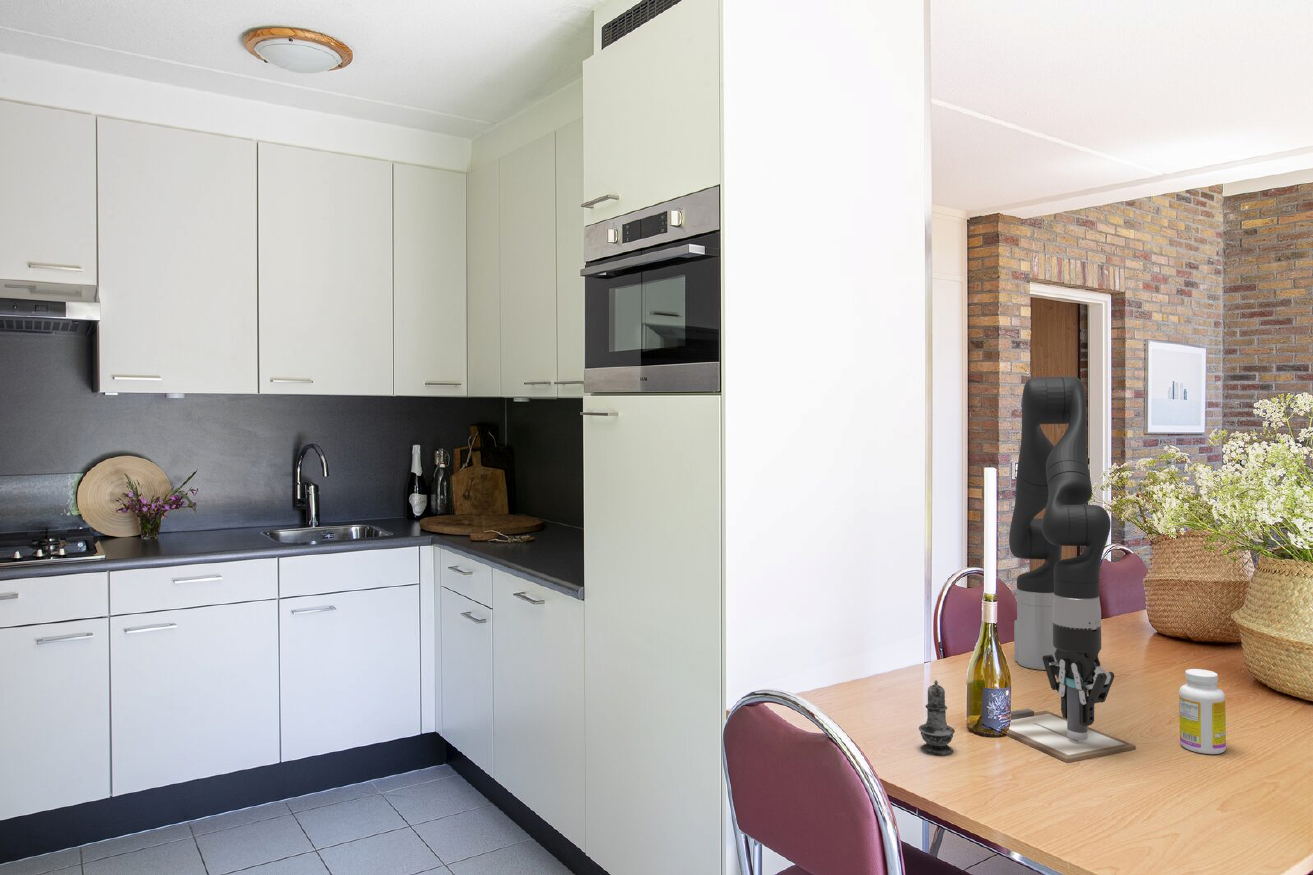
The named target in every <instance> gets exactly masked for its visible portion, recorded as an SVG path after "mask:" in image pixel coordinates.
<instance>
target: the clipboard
mask: <svg viewBox="0 0 1313 875" xmlns="http://www.w3.org/2000/svg"><path fill="white" fill-rule="evenodd" d="M1006 734H1007V736H1006V737H1009V738H1011V739H1013V740H1015V741H1018V742H1020V743H1022V744H1023V745H1027V746H1029V747H1031V748H1033V749H1036V750H1038V751H1039V752H1042V753H1043V754H1047V755H1049V756H1051V757H1053V758H1055V759H1057V760H1060V761H1062V760H1063V761H1062V762H1065V763H1066V764H1067V763H1072V762H1073V761H1074V762H1077V761H1076V760H1079V761H1082V760H1083V761H1084V760H1088V758H1089V759H1093V758H1099V757H1103V756H1102V755H1104V756H1108V755H1113V754H1118V753H1119V754H1120V753H1125V752H1129V751H1133V750H1134V751H1135V750H1136V748H1137V746H1136V745H1135V744H1132V743H1130V742H1127V741H1125V740H1122V739H1120V738H1117V737H1115V736H1112V735H1109V734H1107V733H1105V732H1102V731H1099V730H1096V729H1095V728H1093V727H1092V728H1091V727H1089V726H1088V739H1085V740H1077V739H1072V738H1070V737H1068V736H1067V719H1065V718H1063V716H1061V715H1058V714H1055V713H1053V712H1051V711H1049V710H1040V711H1039V710H1038V711H1034V710H1032V709H1030V708H1024V709H1023V708H1022V709H1017V710H1011V722H1010V727H1009V730H1008V731H1007V733H1006ZM1074 762H1073V763H1074Z"/></svg>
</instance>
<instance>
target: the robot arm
mask: <svg viewBox="0 0 1313 875" xmlns="http://www.w3.org/2000/svg"><path fill="white" fill-rule="evenodd" d="M1087 415H1088V414H1087V398H1086V390H1085V386H1084V382H1082V380H1081V379H1080V378H1079V377H1076V376H1038V377H1032V378H1029V379H1027V380H1026V381H1025V384H1024V386H1023V390H1022V398H1021V433H1020V434H1021V437H1020V446H1019V454H1018V455H1019V456H1018V460H1017V461H1018V462H1017V466H1016V468H1017V469H1016V476H1015V477H1016V478H1015V479H1016V480H1015V499H1014V506H1013V511H1012V516H1011V517H1012V518H1011V522H1010V527H1009V532H1008V533H1009V534H1008V543H1009V549H1010V552H1011V554H1012V555H1013V556H1014V557H1016V558H1018V559H1023V560H1044V562H1043V563H1042V564H1041V565H1040V566H1038V567H1037V568H1035V569H1033V570H1030V571H1026V572H1024V573H1021V574H1019V575H1018V576H1017V577H1016V578H1017V579H1016V603H1017V604H1016V606H1017V608H1016V611H1017V612H1016V613H1017V614H1016V616H1017V619H1015V620H1014V621H1013V625H1014V626H1013V628H1014V629H1013V631H1014V632H1013V633H1014V634H1013V635H1014V636H1013V639H1014V640H1013V643H1014V644H1013V646H1014V662H1017V664H1018V665H1019V666H1022V667H1024V668H1027V669H1033V670H1039V671H1040V670H1043V671H1045V672H1046V676H1047V677H1048V678H1047V679H1048V681H1049V684H1050V688H1051V690H1053V691H1057V692H1058V695H1059V696H1060V707H1061V708H1060V711H1061V714H1062V717H1063V718H1065V719H1067V685H1066V678H1067V677H1068V678H1071V679H1074V680H1075V686H1076V689H1077V690H1078V691H1079V697H1080V702H1081V703H1080V704H1079V712H1080V725H1083V726H1088V727H1089V726H1092V725H1093V723H1094V721H1095V705H1096V704H1099V703H1105V702H1106V701H1107V700H1106V699H1107V696H1108V695H1109V692H1110V691H1111V690H1110V689H1111V688H1112V687H1111V686H1112V684H1113V682H1114V679H1115V674H1114V673H1113V672H1112V671H1106V670H1105V669H1104V668H1102V667H1101V666H1102V665H1101V662H1100V659H1099V653H1100V651H1101V650H1102V608H1101V607H1102V606H1101V600H1100V569H1101V563H1102V558H1103V554H1104V550H1105V547H1106V544H1107V541H1108V539H1109V535H1110V531H1111V518H1110V515H1109V513H1108V512H1107V510H1106V509H1105V508H1103V507H1102V506H1100V505H1096V504H1086V503H1088V502H1089V501H1090V500H1091V498H1092V495H1093V487H1092V481H1091V476H1090V469H1089V463H1088V455H1087V454H1088V453H1087V452H1088V451H1087V450H1088V449H1087V444H1088V442H1087V440H1088V423H1087V420H1088V419H1087V418H1088V417H1087ZM1041 425H1067V429H1066V430H1065V432H1064V433H1063V435H1062V436H1061V438H1060V439H1059V440H1058V442H1056V444H1055V445H1054V444H1053V442H1051V440H1050V439H1049V438H1048V437H1047V436H1046V435H1045V433H1044V431H1043V429H1042V427H1041ZM1043 510H1044V512H1043V516H1042V518H1039V517H1037V518H1035V517H1036V516H1037V515H1039V513H1041V512H1042V511H1043ZM1062 547H1085V549H1084V550H1083V552H1082V553H1081V554H1080V555H1079V556H1076V557H1070V558H1064V559H1062V549H1063V548H1062ZM1084 682H1088V684H1086V685H1084V684H1083V683H1084ZM1086 691H1087V692H1088V696H1087V693H1086Z"/></svg>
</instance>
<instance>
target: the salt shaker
mask: <svg viewBox="0 0 1313 875" xmlns="http://www.w3.org/2000/svg"><path fill="white" fill-rule="evenodd" d="M933 683H934V684H932V685H930V686H928V688H927V704H925V708H926V709H927V711H926V712H927V719H926V722H925V723H924V724H921V725H919V727H918V731H920V735H921V738H922V740H923V741H924V744H923V745H922V746H920V750H921V751H922V752H923V753H925V754H927V755H931V756H937V757H945V756H951V755H952V754H953V753H954V749H953V748H952V747H951V746H949V744H950V743H951V741H952V739H953V737H954V734H955V731H956V730H955V728H953V727H952V726H950V725H948V723H947V719H946V717H947V716H946V712H947V710H948V706H947V705H946V691H945V688H944V687H943V686H941V685H939V681H938V680H937V679H935V680H934V681H933Z"/></svg>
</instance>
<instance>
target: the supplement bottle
mask: <svg viewBox="0 0 1313 875" xmlns="http://www.w3.org/2000/svg"><path fill="white" fill-rule="evenodd" d="M1184 675H1185V676H1184V678H1185V680H1186V683H1185V684H1183V685H1181V686H1180V688H1179V690H1178V701H1179V702H1178V705H1179V706H1178V707H1179V714H1178V716H1179V741H1180V744H1181V746H1182V747H1183V748H1185V750H1188V751H1191V752H1194V753H1199V754H1204V755H1205V754H1206V755H1207V754H1208V755H1219V754H1222V753H1224V752H1225V751H1226V748H1227V728H1226V722H1227V721H1226V695H1225V692H1224V691H1223V690H1222V689H1220V688H1219V687H1217V684H1218V681H1219V676H1218V673H1216V672H1215V671H1213V670H1208V669H1201V668H1200V669H1199V668H1188V669H1186V670H1185V672H1184Z"/></svg>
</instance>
